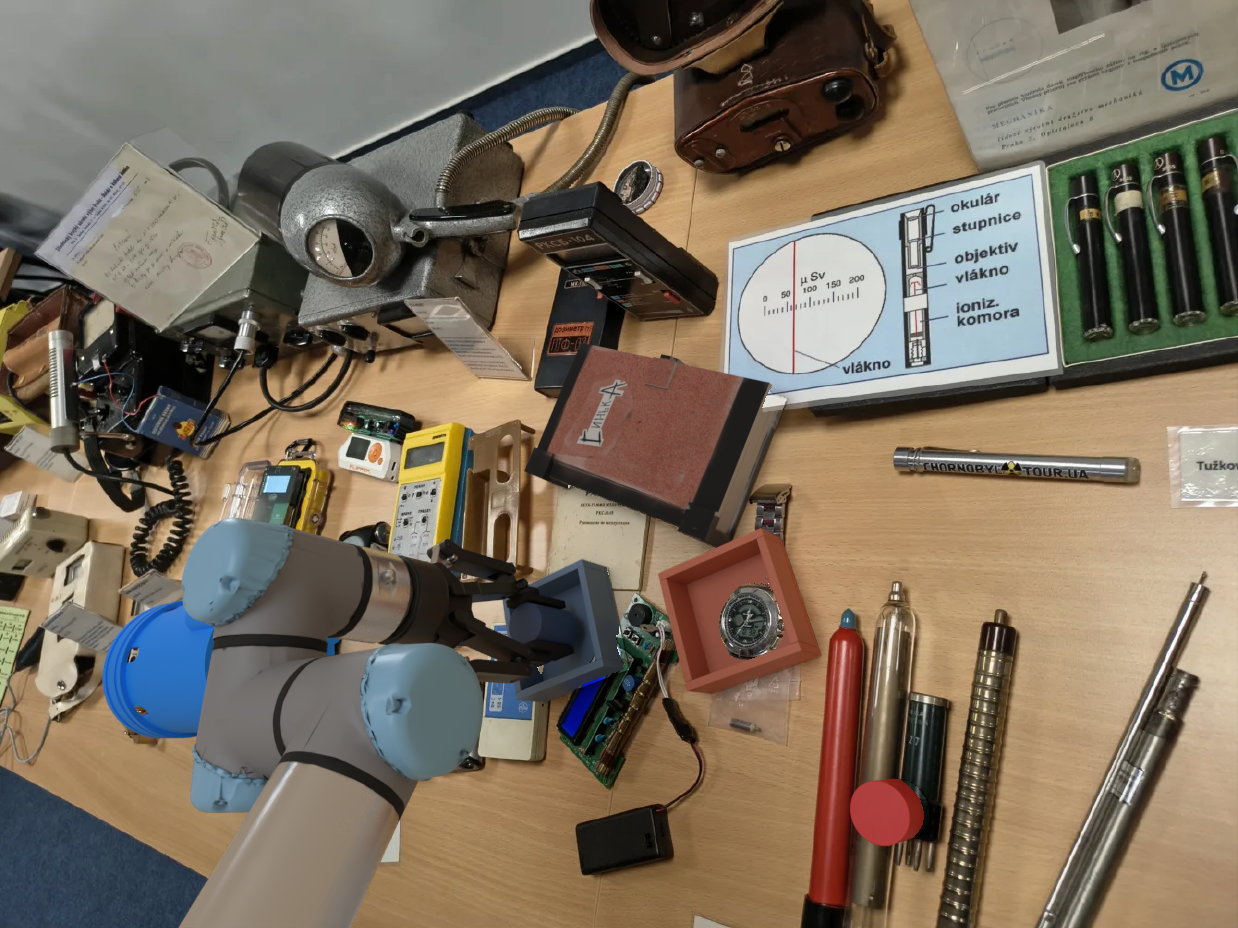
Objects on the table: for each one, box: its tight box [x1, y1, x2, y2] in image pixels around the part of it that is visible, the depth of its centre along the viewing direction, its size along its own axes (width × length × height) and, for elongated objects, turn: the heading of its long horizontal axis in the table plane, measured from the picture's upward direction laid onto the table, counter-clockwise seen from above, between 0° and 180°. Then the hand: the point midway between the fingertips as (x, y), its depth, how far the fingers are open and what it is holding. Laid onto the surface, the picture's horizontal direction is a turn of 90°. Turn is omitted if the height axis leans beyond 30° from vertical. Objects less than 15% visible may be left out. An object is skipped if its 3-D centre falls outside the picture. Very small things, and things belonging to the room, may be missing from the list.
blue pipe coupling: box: [101, 600, 341, 739], centre depth 105 cm, size 25×22×19 cm
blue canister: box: [509, 602, 577, 646], centre depth 79 cm, size 4×4×6 cm
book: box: [524, 342, 784, 548], centre depth 83 cm, size 26×18×5 cm
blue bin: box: [502, 558, 624, 703], centre depth 82 cm, size 12×12×5 cm
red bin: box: [657, 527, 822, 695], centre depth 71 cm, size 12×12×5 cm
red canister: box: [849, 778, 924, 847], centre depth 58 cm, size 4×4×6 cm
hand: (559, 630), depth 82 cm, fingers closed on blue canister, 4 cm apart
